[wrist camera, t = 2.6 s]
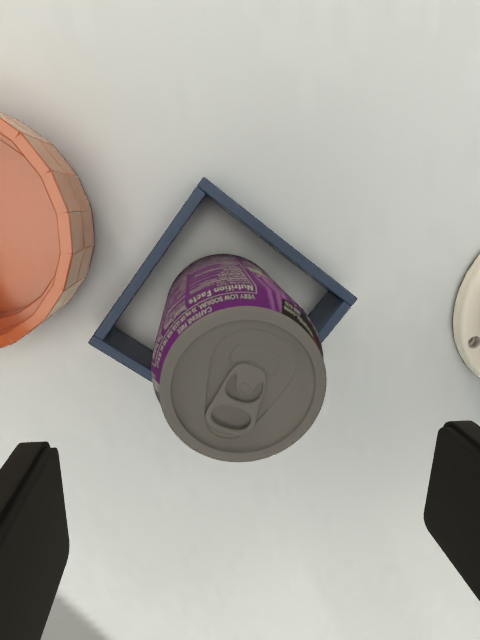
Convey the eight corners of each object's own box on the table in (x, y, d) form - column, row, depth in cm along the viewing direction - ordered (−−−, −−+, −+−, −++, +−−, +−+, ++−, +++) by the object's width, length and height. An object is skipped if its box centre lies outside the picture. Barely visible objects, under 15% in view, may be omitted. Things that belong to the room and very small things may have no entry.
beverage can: (250, 372, 28) (290, 493, 16) (151, 337, 26) (117, 442, 15) (293, 277, 26) (371, 336, 15) (190, 234, 25) (188, 263, 13)
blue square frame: (340, 288, 27) (358, 298, 24) (239, 415, 28) (244, 438, 26) (202, 179, 24) (203, 176, 21) (99, 327, 26) (87, 343, 23)
